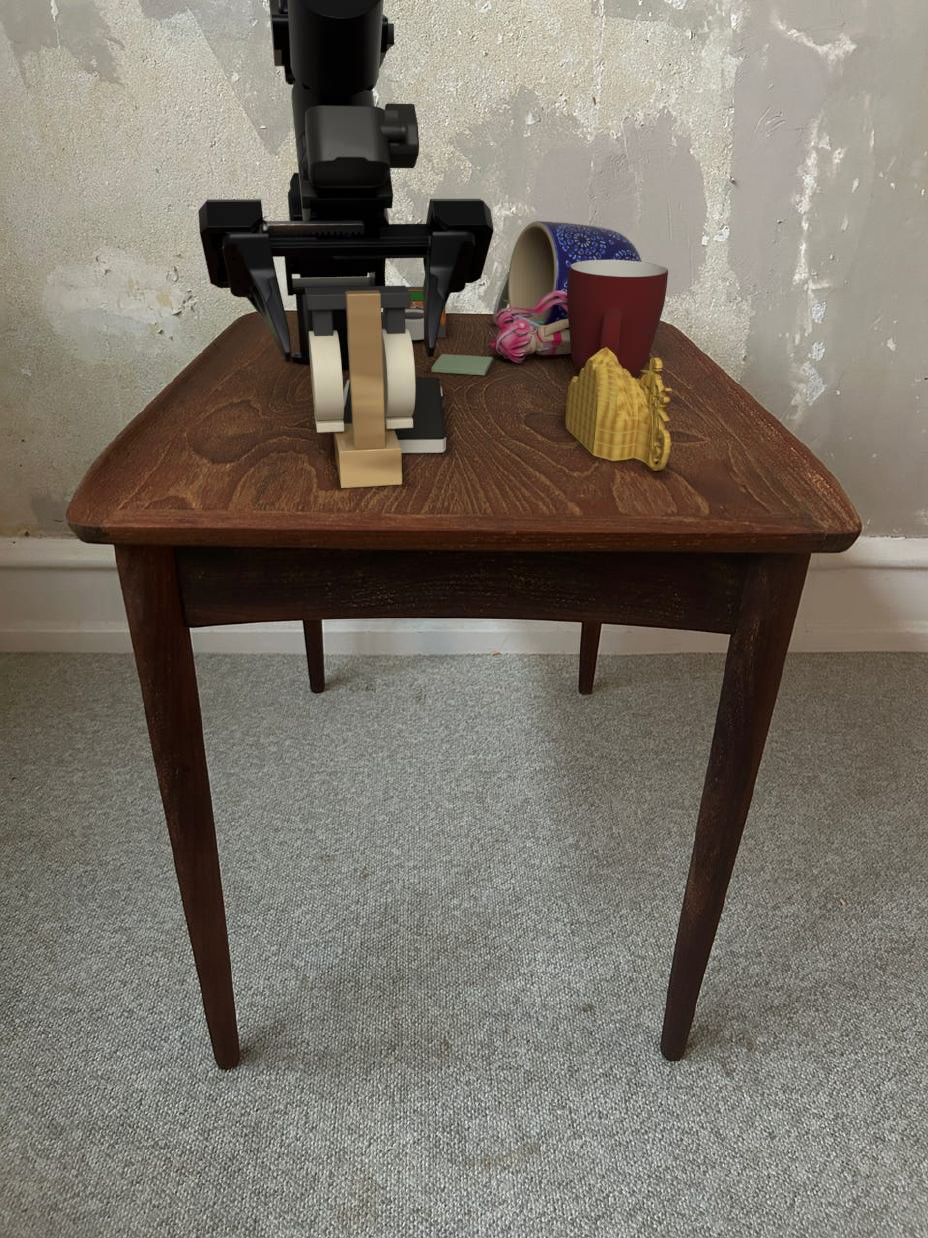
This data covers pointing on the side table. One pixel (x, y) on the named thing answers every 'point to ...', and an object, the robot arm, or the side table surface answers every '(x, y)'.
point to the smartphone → (417, 418)
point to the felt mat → (462, 364)
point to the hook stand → (366, 402)
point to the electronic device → (418, 316)
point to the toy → (532, 331)
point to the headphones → (329, 357)
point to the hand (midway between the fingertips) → (361, 356)
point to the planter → (558, 262)
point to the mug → (615, 310)
